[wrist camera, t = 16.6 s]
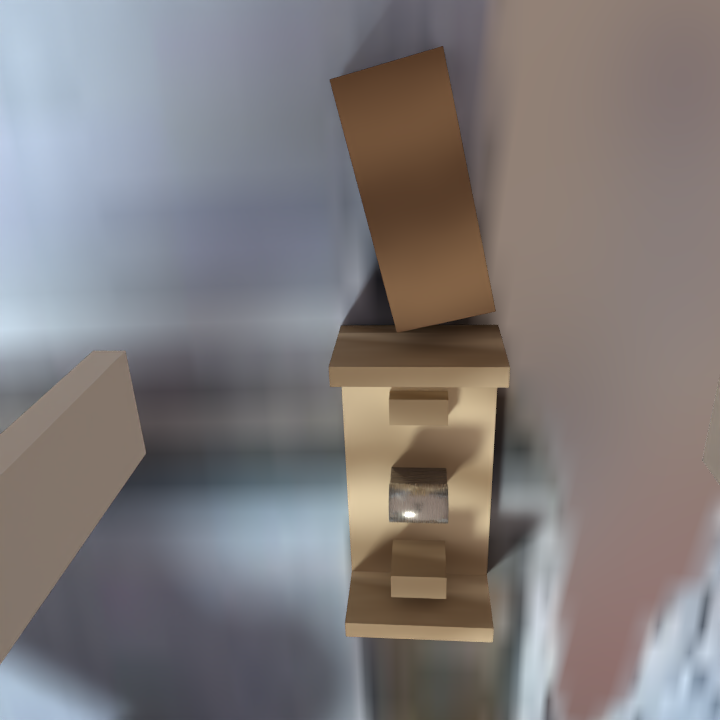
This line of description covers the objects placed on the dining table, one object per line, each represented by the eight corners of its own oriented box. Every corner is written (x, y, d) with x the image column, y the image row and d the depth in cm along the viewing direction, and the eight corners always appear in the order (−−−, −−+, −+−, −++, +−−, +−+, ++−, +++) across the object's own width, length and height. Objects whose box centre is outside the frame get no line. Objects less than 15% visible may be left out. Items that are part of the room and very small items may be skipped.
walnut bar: (487, 283, 33) (495, 311, 29) (399, 302, 34) (397, 332, 30) (440, 46, 29) (442, 45, 25) (340, 76, 29) (329, 79, 26)
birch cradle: (484, 576, 40) (492, 642, 36) (354, 572, 41) (346, 636, 36) (497, 324, 33) (509, 367, 29) (341, 325, 34) (328, 366, 30)
